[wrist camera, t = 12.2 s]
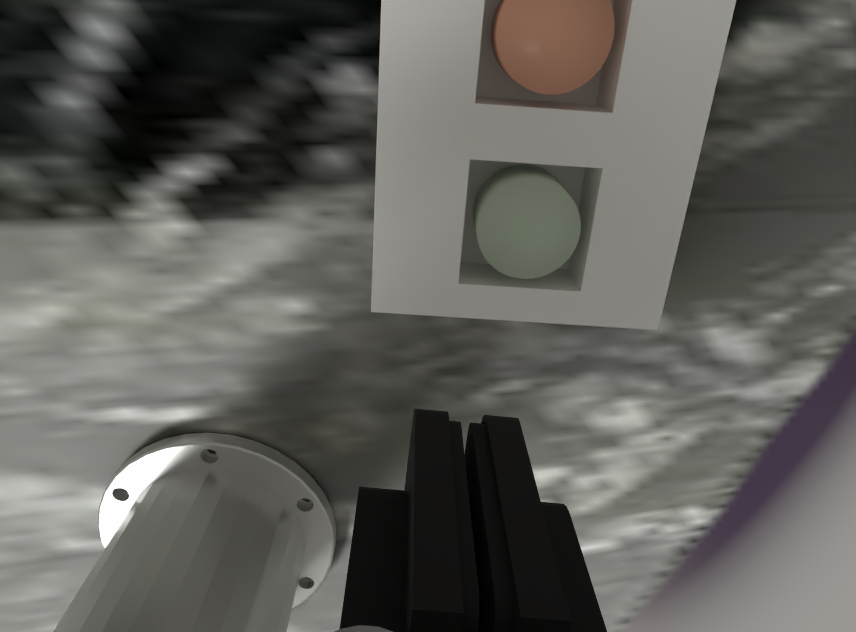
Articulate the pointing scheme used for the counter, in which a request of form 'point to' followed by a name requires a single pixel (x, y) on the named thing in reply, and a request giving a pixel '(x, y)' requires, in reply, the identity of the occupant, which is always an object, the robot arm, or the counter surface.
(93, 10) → the counter surface
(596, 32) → the button terracotta
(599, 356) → the counter surface
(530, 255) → the button sage
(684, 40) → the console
